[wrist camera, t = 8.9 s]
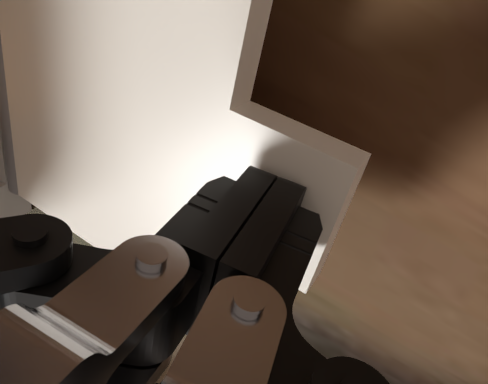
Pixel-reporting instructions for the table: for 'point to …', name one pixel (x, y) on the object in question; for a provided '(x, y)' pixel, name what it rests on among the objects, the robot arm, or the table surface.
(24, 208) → the camera housing
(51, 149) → the side door
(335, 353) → the table surface
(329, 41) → the table surface
